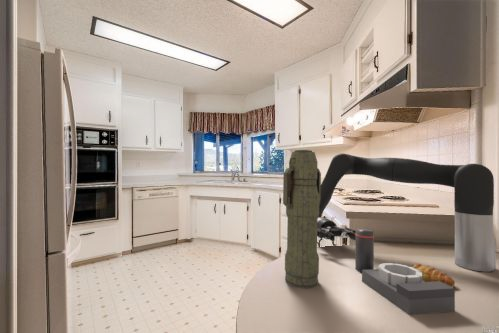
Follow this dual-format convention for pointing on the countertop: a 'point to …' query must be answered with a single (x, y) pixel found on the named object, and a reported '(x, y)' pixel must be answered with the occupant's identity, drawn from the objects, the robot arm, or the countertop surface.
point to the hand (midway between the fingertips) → (345, 237)
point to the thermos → (302, 218)
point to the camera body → (410, 289)
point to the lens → (364, 250)
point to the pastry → (433, 275)
